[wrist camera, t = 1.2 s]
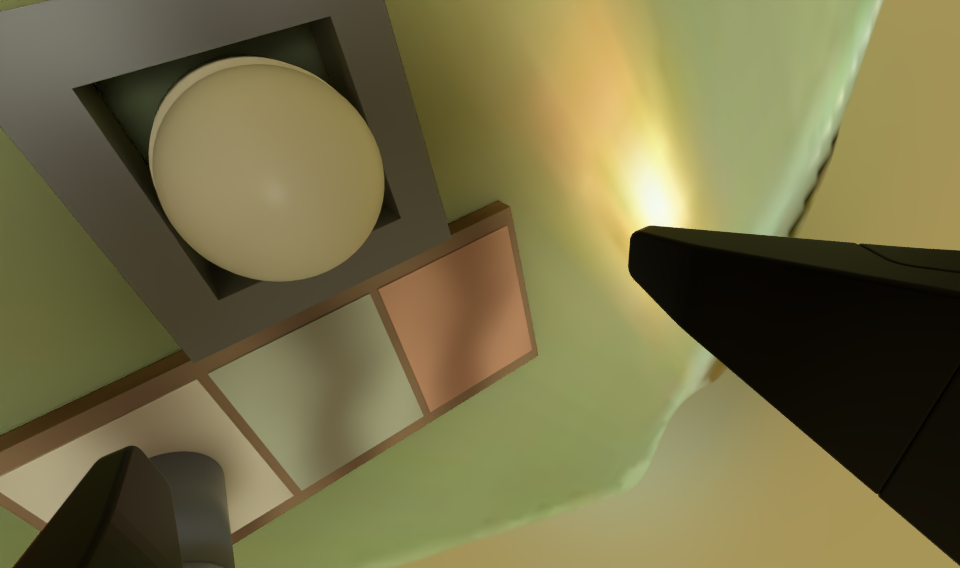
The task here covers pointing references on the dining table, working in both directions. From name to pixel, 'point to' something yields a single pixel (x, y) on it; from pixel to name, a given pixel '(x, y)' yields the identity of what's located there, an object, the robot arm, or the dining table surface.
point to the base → (128, 182)
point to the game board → (302, 384)
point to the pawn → (199, 508)
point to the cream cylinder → (265, 168)
